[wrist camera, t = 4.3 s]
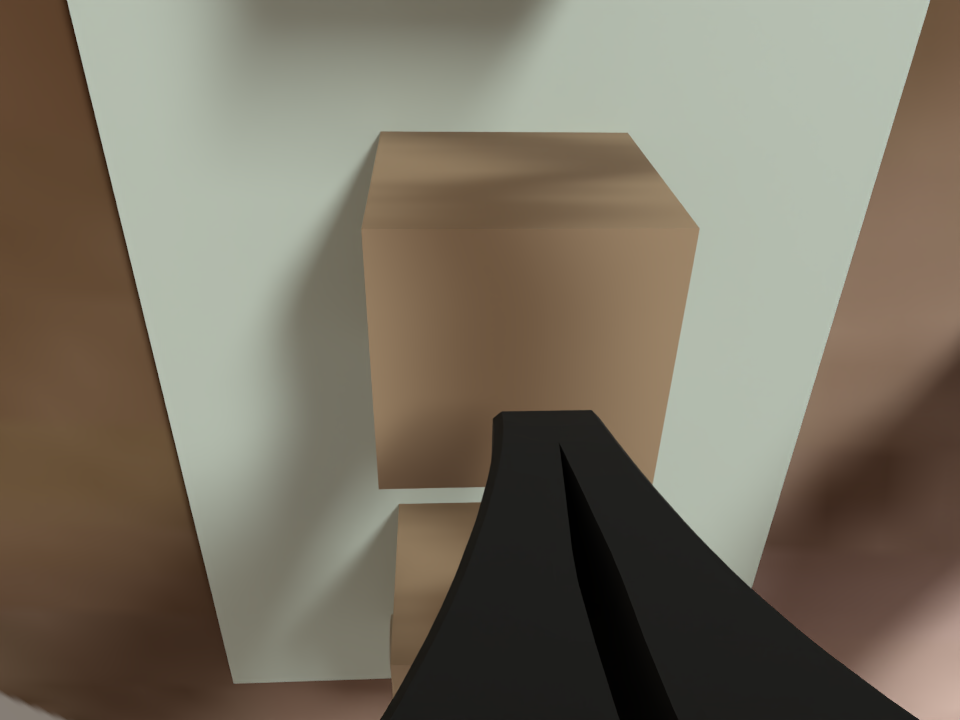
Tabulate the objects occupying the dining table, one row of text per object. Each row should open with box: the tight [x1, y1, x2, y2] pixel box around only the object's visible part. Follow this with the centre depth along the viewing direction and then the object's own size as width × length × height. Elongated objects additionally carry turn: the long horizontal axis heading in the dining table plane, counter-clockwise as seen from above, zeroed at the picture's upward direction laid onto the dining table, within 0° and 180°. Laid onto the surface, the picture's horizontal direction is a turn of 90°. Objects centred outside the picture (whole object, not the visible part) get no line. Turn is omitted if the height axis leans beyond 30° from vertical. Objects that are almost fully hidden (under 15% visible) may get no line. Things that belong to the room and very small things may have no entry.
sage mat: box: [67, 0, 930, 684], centre depth 17 cm, size 16×30×1 cm, turn 179°
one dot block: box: [390, 502, 481, 698], centre depth 20 cm, size 5×5×5 cm
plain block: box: [361, 131, 700, 489], centre depth 15 cm, size 5×5×5 cm
